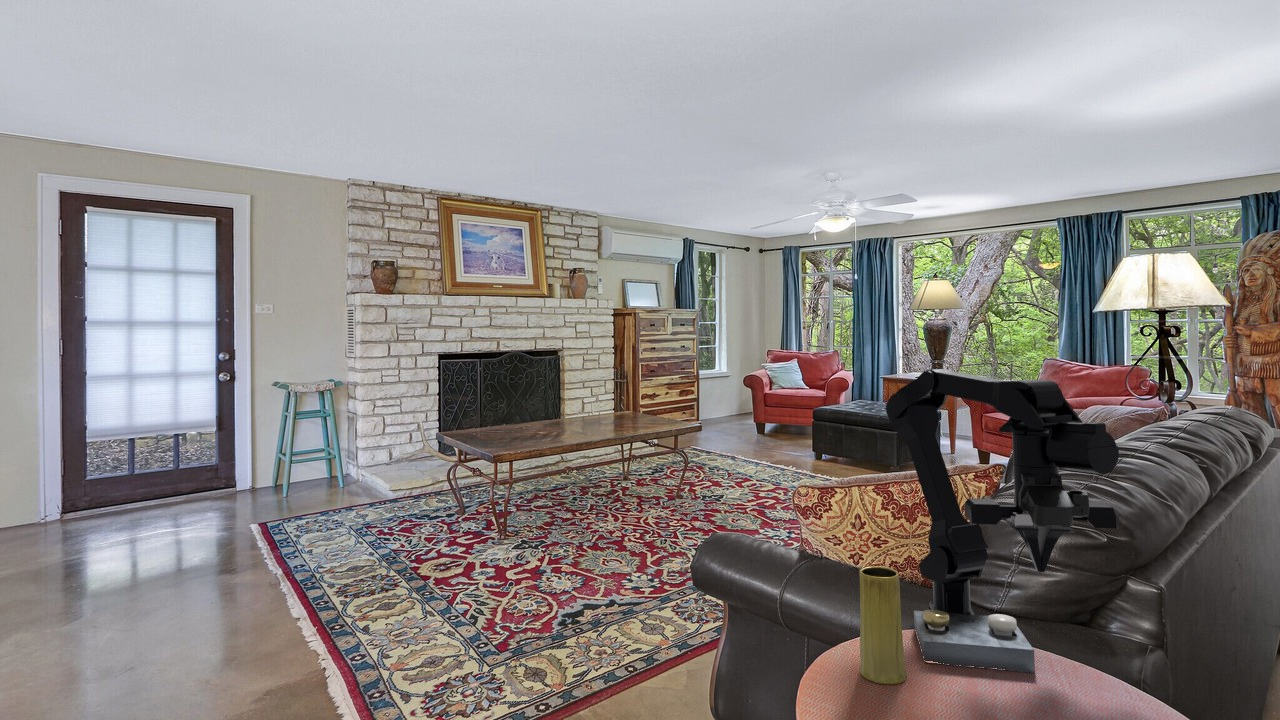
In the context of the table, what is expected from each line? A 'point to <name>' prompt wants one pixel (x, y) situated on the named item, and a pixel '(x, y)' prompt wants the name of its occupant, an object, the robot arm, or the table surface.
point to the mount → (974, 644)
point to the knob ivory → (1002, 624)
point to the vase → (881, 626)
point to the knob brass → (936, 619)
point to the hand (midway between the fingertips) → (1040, 571)
